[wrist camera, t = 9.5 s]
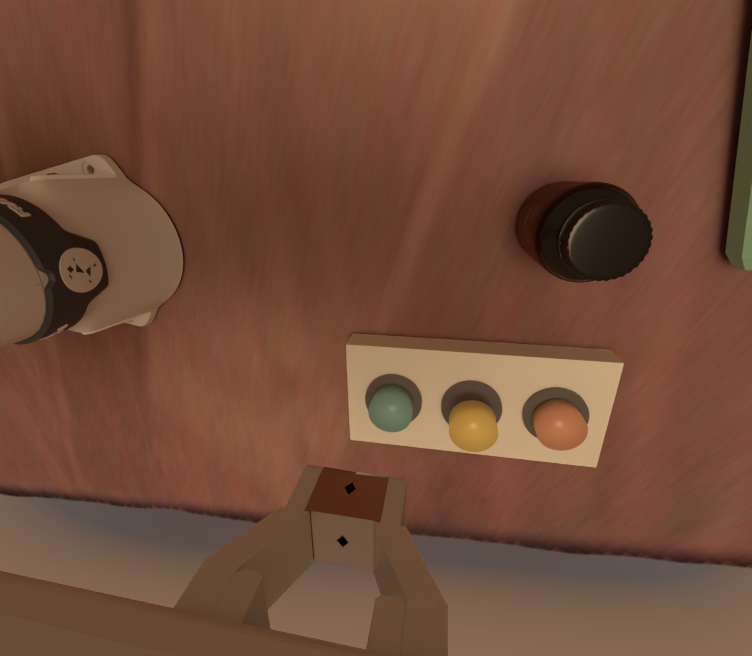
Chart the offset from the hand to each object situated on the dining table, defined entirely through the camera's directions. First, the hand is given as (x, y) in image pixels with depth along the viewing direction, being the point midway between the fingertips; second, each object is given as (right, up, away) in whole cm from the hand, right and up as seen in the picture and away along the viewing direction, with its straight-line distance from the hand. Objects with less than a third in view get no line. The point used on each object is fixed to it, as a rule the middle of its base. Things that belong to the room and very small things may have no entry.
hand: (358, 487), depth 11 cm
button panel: (+11, -2, +30) cm, 32 cm away
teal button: (+2, -3, +28) cm, 28 cm away
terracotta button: (+18, -4, +25) cm, 31 cm away
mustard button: (+10, -4, +25) cm, 27 cm away
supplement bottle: (+17, +14, +22) cm, 31 cm away
